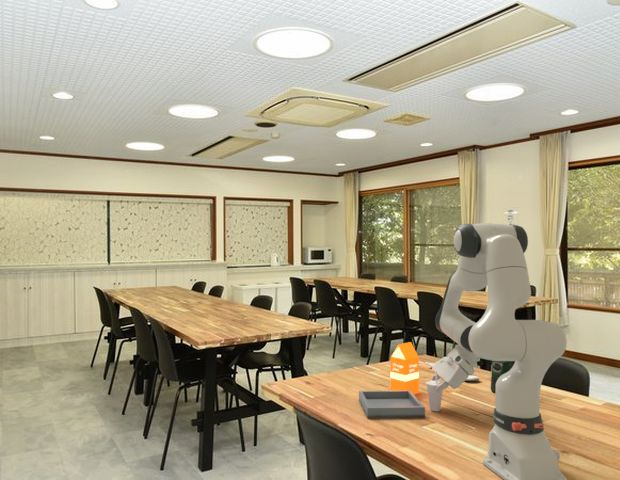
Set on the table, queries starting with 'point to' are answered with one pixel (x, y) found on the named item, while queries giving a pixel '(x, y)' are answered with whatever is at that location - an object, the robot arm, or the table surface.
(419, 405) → the tray
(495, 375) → the coffee jar
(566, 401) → the table surface
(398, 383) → the orange juice
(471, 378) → the spoon
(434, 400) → the smoothie
